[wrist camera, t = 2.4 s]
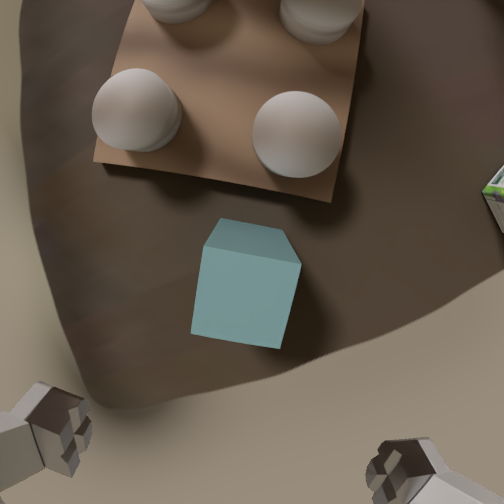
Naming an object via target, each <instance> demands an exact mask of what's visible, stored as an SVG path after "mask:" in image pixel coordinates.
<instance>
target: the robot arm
mask: <svg viewBox="0 0 504 504" xmlns="http://www.w3.org/2000/svg"><path fill="white" fill-rule="evenodd" d="M89 410H90V409H89V404H88V401H87V400H86V399H84V398H82V397H79V396H77V395H74V394H71V393H69V392H66V391H64V390H61V389H59V388H56V387H53V386H51V385H48V384H46V383H44V382H41V381H39V382H36V383H35V384H34V385H33V386H32V387H31V388H30V390H29V391H28V392H27V393H26V394H25V395H24V397H22V399H21V400H20V401H19V402H18V403H17V404H16V405H15V407H14V408H13V409H12V410H11V411H10V412H9V413H8V412H6V411H3V412H0V492H1V491H3V490H5V489H7V488H9V487H11V486H13V485H15V484H17V483H19V482H21V481H23V480H25V479H27V478H28V477H30V476H32V475H34V474H36V473H38V472H40V471H41V470H43V469H45V468H44V467H46V468H48V469H51V470H53V471H55V472H58V473H60V474H63V475H66V476H68V477H71V478H72V477H73V475H74V473H75V471H76V469H77V467H78V465H79V463H80V459H79V454H80V453H82V452H84V451H86V449H87V447H88V445H89V443H90V439H91V435H92V424H91V420H90V419H89V418H88V417H87V413H88V412H89ZM378 452H379V455H377V456H376V457H374V458H373V459H371V461H370V463H369V464H368V466H367V470H366V482H367V485H368V488H370V489H371V490H372V491H374V492H375V493H374V495H373V497H372V500H373V503H374V504H504V498H502V497H501V496H499V495H496V494H495V493H493V492H491V491H489V490H487V489H486V488H484V487H482V486H480V485H479V484H477V483H475V482H473V481H471V480H470V479H468V478H466V477H465V476H463V475H461V474H459V473H458V472H456V471H454V470H453V471H450V469H449V468H448V466H447V465H446V463H445V461H444V460H443V458H442V456H441V455H440V453H439V452H438V450H437V448H436V447H435V445H434V443H433V442H432V440H431V439H430V438H428V437H422V438H413V439H401V440H388V441H384V442H383V443H381V445H380V447H379V448H378ZM0 504H5V503H4V502H3V500H2V499H1V497H0Z"/></svg>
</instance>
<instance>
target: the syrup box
mask: <svg viewBox="0 0 504 504" xmlns="http://www.w3.org/2000/svg"><path fill="white" fill-rule="evenodd" d="M482 193H483V195H484V197H485V199H486V201H487V203H488V205H489V207H490V209H491V211H492V213H493V215H494V217H495V219H496V221H497V223H498V225H499V227H500V229H501V231H502V233H504V165H503V167H502V168H501V169H500V170H499V171H498V172H497V174H496V175H495V176H494V177H493V178H492V180H491V181H490V182H489V183H488V185H487V186H486V187H485V188H484V189H483V191H482Z"/></svg>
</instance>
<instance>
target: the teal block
mask: <svg viewBox="0 0 504 504" xmlns="http://www.w3.org/2000/svg"><path fill="white" fill-rule="evenodd" d="M301 265H302V264H301V262H300V260H299V259H298V257H297V255H296V253H295V251H294V250H293V248H292V246H291V244H290V243H289V241H288V239H287V237H286V235H285V234H284V232H283V230H280V229H275V228H270V227H265V226H260V225H255V224H250V223H244V222H239V221H234V220H228V219H223V218H220V220H219V222H218V223H217V225H216V227H215V228H214V230H213V232H212V233H211V235H210V236H209V238H208V240H207V241H206V243H205V245H204V247H203V254H202V260H201V266H200V273H199V279H198V286H197V292H196V299H195V306H194V313H193V320H192V328H191V334H196V335H201V336H206V337H211V338H217V339H222V340H228V341H233V342H239V343H245V344H251V345H257V346H264V347H270V348H277V349H280V347H281V343H282V339H283V335H284V332H285V328H286V324H287V320H288V317H289V313H290V309H291V305H292V301H293V297H294V293H295V289H296V285H297V281H298V277H299V273H300V269H301Z"/></svg>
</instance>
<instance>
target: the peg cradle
mask: <svg viewBox="0 0 504 504" xmlns="http://www.w3.org/2000/svg"><path fill="white" fill-rule="evenodd" d="M364 1H365V0H135V2H134V4H133V7H132V10H131V13H130V15H129V18H128V21H127V24H126V27H125V30H124V33H123V36H122V39H121V42H120V46H119V49H118V52H117V56H116V59H115V63H114V66H113V70H112V74H111V77H110V79H109V80H108V81H107V82H105V84H104V85H103V86H102V87H101V89H100V90H99V92H98V93H97V95H96V98H95V100H94V103H93V108H92V122H93V126H94V129H95V131H96V133H97V135H98V136H97V141H96V147H95V153H94V159H93V162H101V163H109V164H117V165H125V166H132V167H139V168H146V169H153V170H160V171H167V172H173V173H179V174H186V175H192V176H198V177H204V178H209V179H215V180H221V181H226V182H232V183H237V184H242V185H248V186H253V187H258V188H263V189H268V190H273V191H278V192H283V193H288V194H292V195H297V196H302V197H306V198H311V199H315V200H320V201H324V202H328V203H331V200H332V195H333V190H334V186H335V181H336V176H337V171H338V167H339V162H340V157H341V151H342V146H343V141H344V136H345V130H346V125H347V119H348V114H349V108H350V102H351V96H352V90H353V83H354V77H355V71H356V64H357V57H358V50H359V42H360V35H361V27H362V18H363V10H364Z"/></svg>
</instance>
